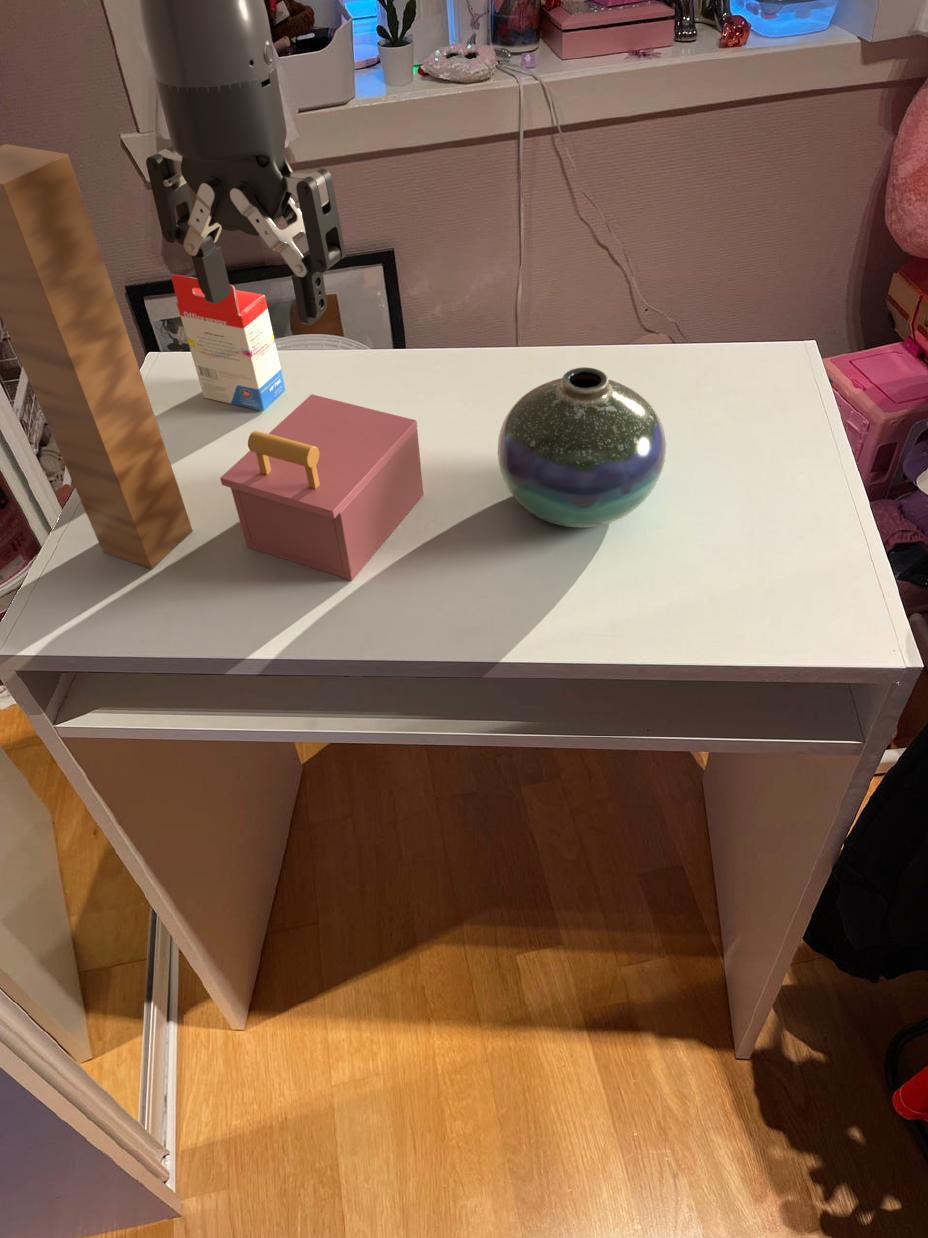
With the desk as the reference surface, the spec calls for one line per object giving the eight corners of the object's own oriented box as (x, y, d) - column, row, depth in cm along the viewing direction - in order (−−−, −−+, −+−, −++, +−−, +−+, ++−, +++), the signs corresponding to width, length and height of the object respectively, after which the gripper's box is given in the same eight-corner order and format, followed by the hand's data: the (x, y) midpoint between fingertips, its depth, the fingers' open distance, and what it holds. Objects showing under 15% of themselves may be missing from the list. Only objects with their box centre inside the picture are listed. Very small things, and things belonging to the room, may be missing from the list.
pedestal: (152, 569, 83) (2, 184, 59) (102, 552, 85) (-62, 172, 61) (193, 530, 87) (68, 153, 63) (144, 515, 89) (5, 143, 65)
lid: (334, 519, 75) (325, 472, 71) (221, 485, 79) (208, 439, 75) (417, 427, 84) (413, 381, 80) (312, 401, 88) (304, 356, 84)
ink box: (287, 391, 104) (261, 266, 93) (263, 413, 101) (234, 287, 90) (226, 377, 107) (195, 254, 96) (201, 398, 104) (166, 274, 93)
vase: (467, 516, 87) (461, 394, 77) (550, 437, 95) (554, 319, 86) (609, 575, 80) (622, 450, 71) (685, 484, 89) (705, 362, 79)
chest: (352, 581, 81) (340, 512, 75) (246, 546, 85) (228, 479, 79) (423, 495, 89) (417, 427, 84) (324, 467, 93) (312, 401, 88)
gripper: (86, 70, 56) (158, 314, 68) (273, 92, 52) (317, 351, 63) (164, 39, 61) (219, 273, 73) (343, 57, 56) (372, 304, 68)
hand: (265, 309), depth 68 cm, fingers open, 8 cm apart
